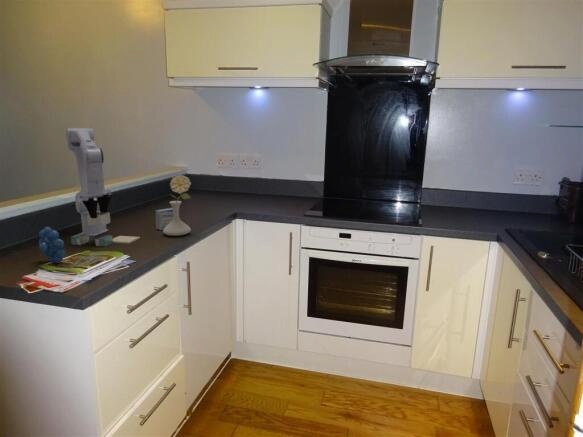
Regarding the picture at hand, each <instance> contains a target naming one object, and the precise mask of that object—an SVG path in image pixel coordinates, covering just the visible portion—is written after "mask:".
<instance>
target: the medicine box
mask: <svg viewBox="0 0 583 437" xmlns="http://www.w3.org/2000/svg"><path fill="white" fill-rule="evenodd" d="M154 212H155V223H156V224H155V225H156V230H158V229H159V231H161V230H163V229H164V228H165V227H166V226H167V225H168V224H169V223H170V222H171V221H172V220H173V209H172V207H169V208H163V209H156V210H155V211H154Z"/></svg>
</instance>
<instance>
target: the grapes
mask: <svg viewBox="0 0 583 437" xmlns="http://www.w3.org/2000/svg"><path fill="white" fill-rule="evenodd" d="M38 237H39V240H38V245H39V246H38V249H39V250H40V251H41V253H42V254H43V256H45V257H47V260H48V261H49V262H50V263H52V262H54V263H56V262H60V261H62V262H63V260H64V258H65V256H66V250H65V249H63V247H64V245H65V242H64V240H63V239H61V238H59V237H60V233H59V232H58V231H57V230H55V229H52V228H51V227H50V226H45V227H44V228H43V229H40V231H39V233H38Z"/></svg>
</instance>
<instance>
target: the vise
mask: <svg viewBox="0 0 583 437" xmlns="http://www.w3.org/2000/svg"><path fill="white" fill-rule="evenodd" d="M95 237H96V236H89V235H85V234H79V233H77V234H75V235H72V236H70V240H71V242H70V243H71V245H74V246H75V245H76V246H77V245H78V246H82V245H84V244H87V243H89V245H95V246H96V247H107V246H109V245H112V244H114V243H113V238H114V237H113V234H112V235H111V234H110V235H109V234H108V235H107V234H105V235H104V236H103V235H102V236H101V237H98V238H95Z"/></svg>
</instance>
